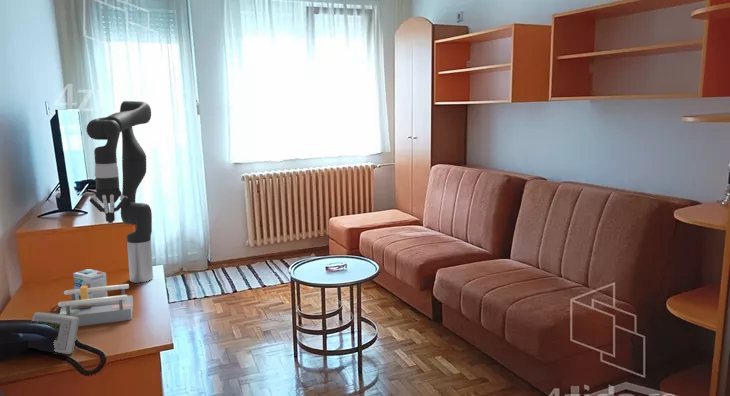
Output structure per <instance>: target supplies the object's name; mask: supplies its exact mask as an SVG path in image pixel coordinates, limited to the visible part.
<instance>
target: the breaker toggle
mask: <svg viewBox="0 0 730 396" xmlns="http://www.w3.org/2000/svg"><path fill="white" fill-rule="evenodd" d="M80 293H81V300H84V299H89V297H88V286H81V287H80ZM92 304H93V303H91V304H82V305H78V309H83V308H91V307H92Z"/></svg>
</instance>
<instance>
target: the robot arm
mask: <svg viewBox="0 0 730 396" xmlns="http://www.w3.org/2000/svg"><path fill="white" fill-rule="evenodd" d="M119 107H120V108H119V111H118V112H115V113H112V114H109V115H107V116H105V117H104V116H103V117H99V118H94V119H91V120H90V121H89V122H88V123H87V125H86V128H85V129H86V134H87V135H88V137H90V139H92V140H98V141H99V140H100V141H102V140H103V141H105V140H106V143H105V144H104V145H102V146H97V147H95V149H94V151H93V152H94V176H95V186H96V187H95V190H96V191H95V194H94V196H93V197H91V198H90V199H89V201H88V202H90V203H91V204H92V205H93V206H94V207H95V208H96V209H97V210H98V211H99V212H100V213H105V221H106V222H107V223H108V224H113V223H114V222H115V220H116V218H115V216H116V215H115V212H119V211H120V217H121V221H122V222H123V224H125V225H133V226H136V230H135V231H133V232H130V233H128V234H127V236H126V243H127V245H126V246H127V257H128V271H129V282H131V283H138V284H139V283H140V282H141V283H147V282H149V280H150V281H152V280H153V279H154V270H153V269H154V267H153V251H152V238H151V237H152V233H153V232H152V231H153V226H152V225H153V220H152V219H153V214H152V209H151V206H150V205H149V204H148V203H143V202H136V198H137V197H136V196H137V191H138V188H139V187H140V184H141V183H142V182H143V179H144V178H145V176H146V174H147V156H146V155H147V154H146V152H145V150H144V149H143V148H142V146H141V144H140V143H139V142H138V140H137V138H136V137H135V134H134V129H133V127H135V126H138V125H143V124H145V125H146V124H148V123H149V122H150V120H151V119H152V118H151V117H152V109H151V106H150V104H149V103H147V102H145V101H139V100H138V101H135V100H134V101H133V100H132V101H131V100H124V101H122V102H121V104H120V106H119ZM120 135H121V140H122V141H121V145H122V146H121V147H122V148H121V149H122V151H121V154H122V155H121V156H122V157H121V161H122V163H121V167H122V168H121V169H122V188H121V189H122V191H121V189H120V179H119V177H120V176H119V168H118V167H119V166H118V159H117V148H118V142H119V139H120ZM118 200H120V202H119V203H118V204H117V205H116V206H115V203H116V202H118ZM98 201H100V203H102V204H103V206H102V205H101V204H100V203H99V202H98ZM152 278H153V279H152ZM151 279H152V280H151ZM146 281H147V282H146Z"/></svg>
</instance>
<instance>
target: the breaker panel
mask: <svg viewBox="0 0 730 396" xmlns="http://www.w3.org/2000/svg"><path fill="white" fill-rule="evenodd" d="M129 288H130V285H129V283H124V284H115V285H107V286H104V287H94V288H88V293H89V292H99V291H107V292H108V291H115V290H121V294H120V295H112V296H108V297H102V298H93V299H84V300H76V298H75V294H80V289H75V288H73V289H68V290H67V289H66V290H64V291H63V294H64V295H66V296H68V295H70V296H71V300H66V301H59V302H58V303H57V306H58V307H59V308H61V309H60V312H59V314H62V315H69V316H73V317H78V318H79V325H78V327H84V326H92V325H98V324H109V323H115V322H124V321H132V319H133V309H134V298H133V297H134V296H133V295H132V294H131V295H128V294H126V291H125V290H126V289H129ZM91 303H93V304H92V307H91V308H83V309H78V305H82V304H91Z"/></svg>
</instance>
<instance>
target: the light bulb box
mask: <svg viewBox="0 0 730 396" xmlns="http://www.w3.org/2000/svg"><path fill="white" fill-rule="evenodd" d="M72 275H73V285H74V288H73V289H80V287H81V286H88V288H94V287H104V286H108V283H107V272H104V271H100V270H97V269H91V268H87V269H84V270H79V271H76V272H73V274H72ZM88 297H89V299H93V298H102V297H109V295H108V291H99V292H89V293H88ZM75 298H76V300H81V293H80V294H75Z"/></svg>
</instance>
